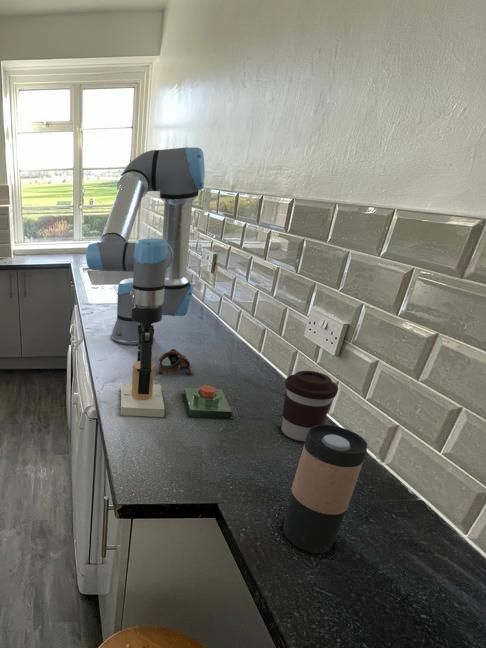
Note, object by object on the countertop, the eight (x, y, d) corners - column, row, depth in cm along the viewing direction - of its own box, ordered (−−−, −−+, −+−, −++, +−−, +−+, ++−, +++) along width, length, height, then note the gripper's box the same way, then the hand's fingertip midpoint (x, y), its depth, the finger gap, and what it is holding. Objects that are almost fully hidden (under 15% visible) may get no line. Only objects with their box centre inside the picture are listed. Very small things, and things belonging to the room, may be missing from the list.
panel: (121, 390, 118) (121, 382, 117) (159, 392, 116) (160, 383, 115) (120, 415, 106) (121, 406, 104) (163, 417, 104) (164, 408, 102)
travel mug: (271, 521, 71) (296, 426, 63) (312, 517, 72) (342, 422, 63) (299, 557, 64) (331, 456, 56) (345, 552, 65) (383, 451, 56)
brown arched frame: (196, 380, 123) (187, 361, 118) (166, 390, 126) (157, 373, 122) (188, 356, 132) (179, 338, 127) (160, 366, 135) (151, 349, 131)
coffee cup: (317, 425, 97) (333, 369, 91) (328, 449, 89) (346, 389, 83) (271, 419, 100) (284, 365, 94) (278, 442, 92) (292, 384, 86)
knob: (131, 389, 113) (132, 359, 109) (151, 390, 112) (153, 360, 108) (131, 399, 108) (133, 368, 104) (152, 400, 107) (155, 368, 103)
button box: (183, 394, 114) (184, 382, 112) (220, 396, 112) (222, 383, 111) (189, 416, 103) (191, 403, 102) (230, 419, 102) (233, 405, 100)
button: (198, 390, 108) (199, 384, 108) (213, 391, 108) (214, 385, 107) (200, 397, 105) (201, 391, 104) (216, 398, 104) (217, 392, 103)
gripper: (131, 292, 110) (128, 364, 119) (132, 319, 89) (128, 404, 98) (159, 292, 109) (153, 364, 118) (167, 319, 88) (160, 405, 97)
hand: (142, 382), depth 108 cm, fingers open, 12 cm apart
